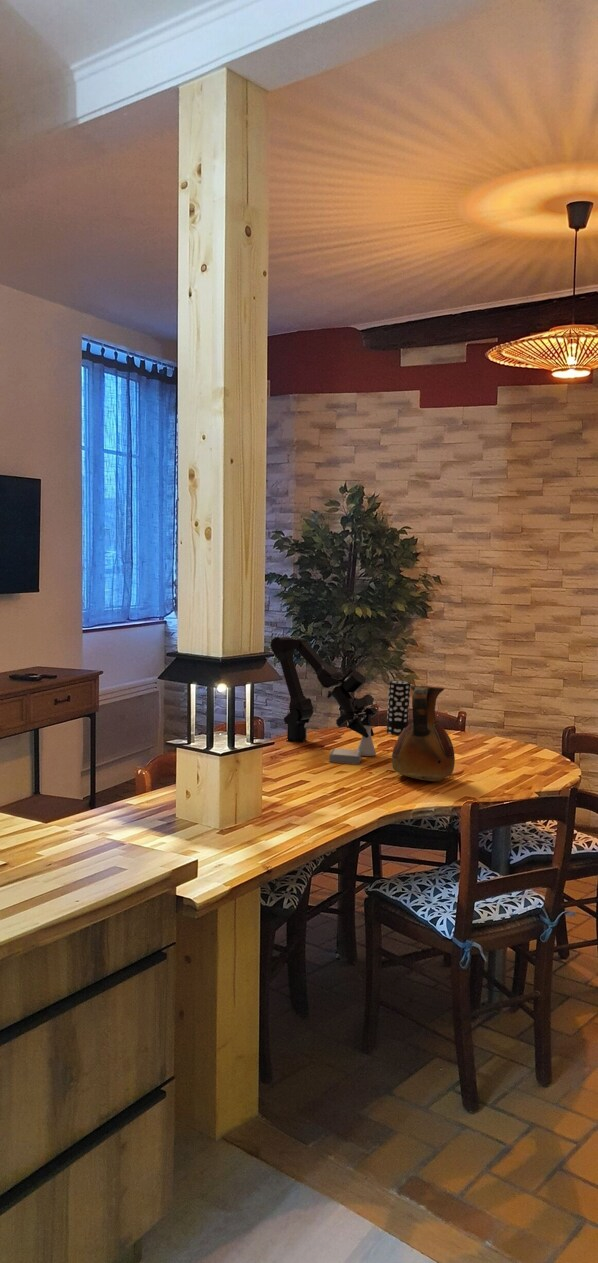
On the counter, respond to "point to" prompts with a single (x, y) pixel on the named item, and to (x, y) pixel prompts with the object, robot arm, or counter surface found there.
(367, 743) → the flask
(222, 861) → the counter surface
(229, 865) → the counter surface
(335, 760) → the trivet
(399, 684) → the white-spotted black cylinder
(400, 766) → the ceramic pitcher
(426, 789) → the counter surface
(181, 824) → the counter surface
